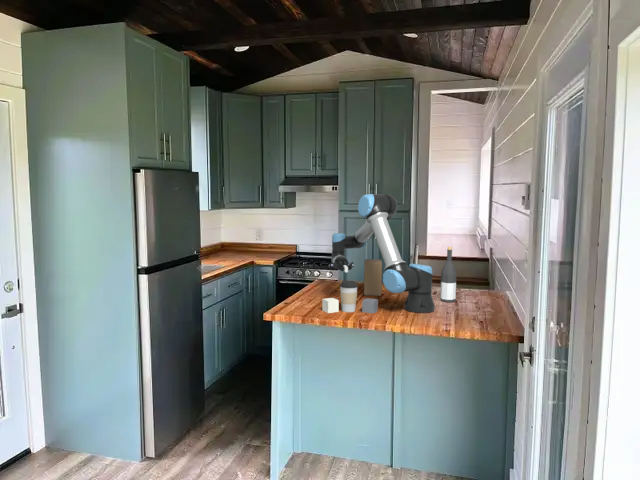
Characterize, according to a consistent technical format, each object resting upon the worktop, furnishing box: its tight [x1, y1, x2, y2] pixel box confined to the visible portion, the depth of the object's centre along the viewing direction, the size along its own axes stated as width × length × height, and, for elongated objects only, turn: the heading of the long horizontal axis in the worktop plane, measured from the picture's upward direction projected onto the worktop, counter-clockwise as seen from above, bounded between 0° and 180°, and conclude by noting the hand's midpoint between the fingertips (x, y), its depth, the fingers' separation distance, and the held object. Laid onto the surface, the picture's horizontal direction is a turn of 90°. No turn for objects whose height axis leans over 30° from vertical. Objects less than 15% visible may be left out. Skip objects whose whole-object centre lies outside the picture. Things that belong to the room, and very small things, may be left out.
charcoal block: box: [361, 297, 379, 314], centre depth 240 cm, size 6×6×6 cm
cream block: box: [321, 297, 340, 314], centre depth 241 cm, size 6×6×6 cm
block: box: [363, 258, 383, 297], centre depth 279 cm, size 10×10×20 cm
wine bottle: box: [439, 246, 457, 304], centre depth 263 cm, size 8×8×30 cm
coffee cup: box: [339, 280, 359, 313], centre depth 241 cm, size 9×9×15 cm
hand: (346, 269), depth 248 cm, fingers closed
